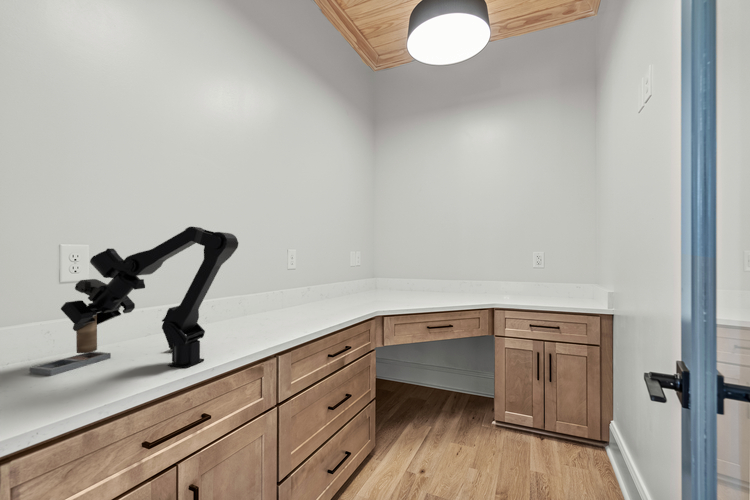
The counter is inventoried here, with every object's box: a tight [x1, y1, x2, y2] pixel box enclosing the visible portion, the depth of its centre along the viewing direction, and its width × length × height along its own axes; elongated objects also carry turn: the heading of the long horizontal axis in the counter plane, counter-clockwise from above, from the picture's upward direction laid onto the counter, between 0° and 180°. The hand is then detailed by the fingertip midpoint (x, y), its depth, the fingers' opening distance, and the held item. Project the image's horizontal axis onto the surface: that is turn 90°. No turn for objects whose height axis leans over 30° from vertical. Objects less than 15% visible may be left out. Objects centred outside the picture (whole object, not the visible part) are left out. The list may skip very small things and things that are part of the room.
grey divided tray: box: [29, 351, 112, 377], centre depth 94 cm, size 8×15×2 cm, turn 165°
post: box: [75, 314, 98, 354], centre depth 97 cm, size 4×4×12 cm
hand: (82, 327), depth 98 cm, fingers closed on post, 4 cm apart
